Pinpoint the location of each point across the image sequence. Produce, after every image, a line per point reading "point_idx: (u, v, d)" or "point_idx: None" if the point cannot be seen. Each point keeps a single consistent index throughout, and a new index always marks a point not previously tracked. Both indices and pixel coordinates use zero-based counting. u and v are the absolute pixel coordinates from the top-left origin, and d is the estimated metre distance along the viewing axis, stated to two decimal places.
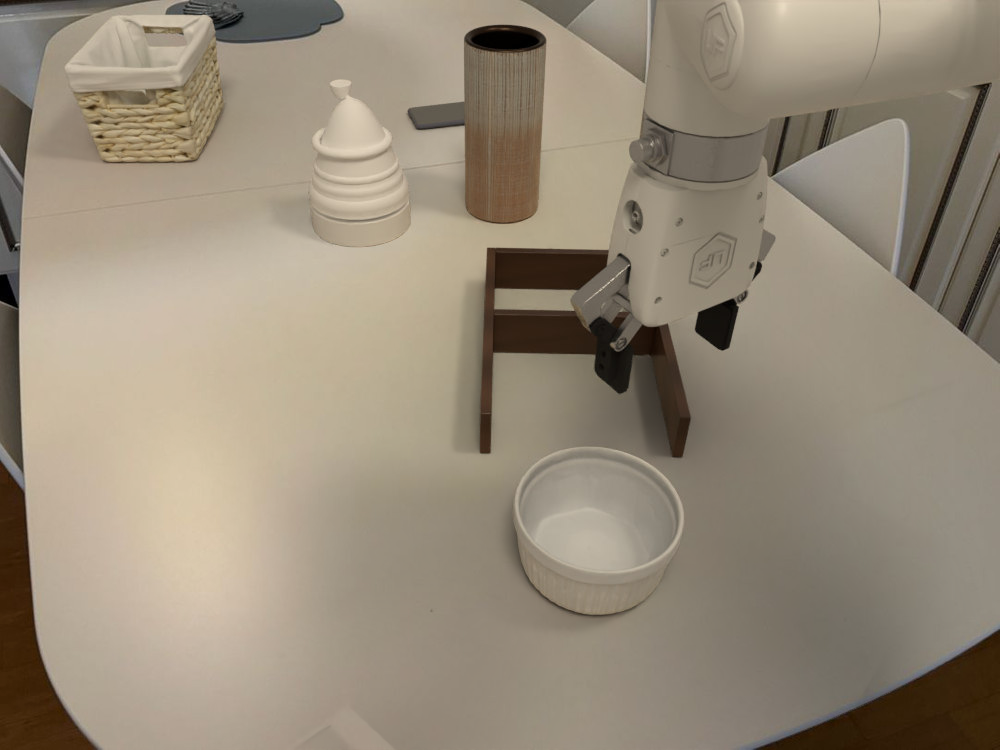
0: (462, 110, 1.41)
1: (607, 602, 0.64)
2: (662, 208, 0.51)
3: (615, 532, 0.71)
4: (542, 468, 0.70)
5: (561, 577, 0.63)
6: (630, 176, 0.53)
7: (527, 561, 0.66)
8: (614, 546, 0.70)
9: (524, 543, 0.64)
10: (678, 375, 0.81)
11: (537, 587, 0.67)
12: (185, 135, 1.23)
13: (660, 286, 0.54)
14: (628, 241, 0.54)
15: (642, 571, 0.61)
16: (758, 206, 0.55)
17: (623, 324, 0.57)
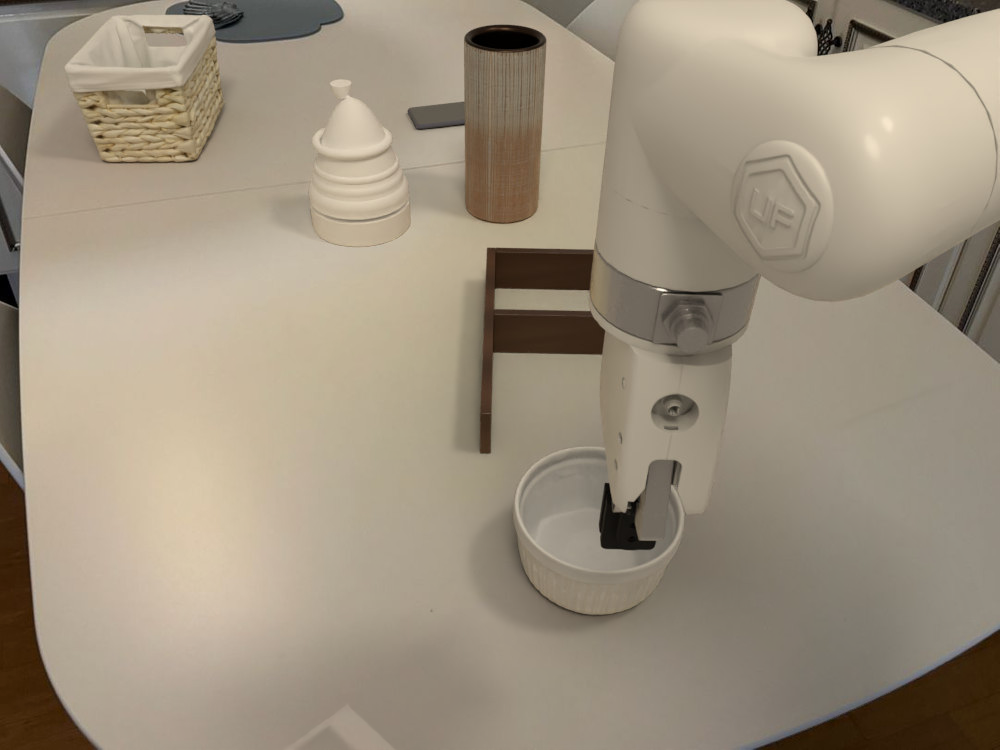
0: (462, 110, 1.41)
1: (607, 602, 0.64)
2: (724, 383, 0.38)
3: None
4: (542, 468, 0.70)
5: (561, 577, 0.63)
6: (651, 369, 0.37)
7: (527, 561, 0.66)
8: None
9: (524, 543, 0.64)
10: None
11: (537, 587, 0.67)
12: (185, 135, 1.23)
13: None
14: (672, 442, 0.39)
15: (642, 571, 0.61)
16: None
17: None
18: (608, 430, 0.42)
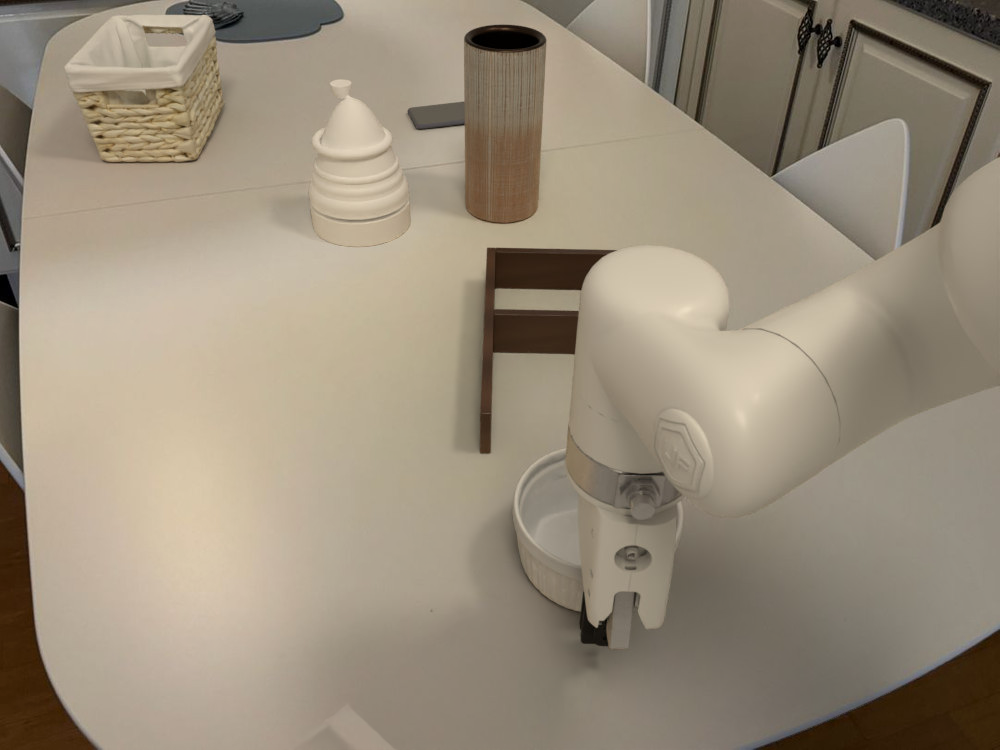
0: (462, 110, 1.41)
1: None
2: (670, 536, 0.48)
3: None
4: (542, 467, 0.70)
5: (560, 576, 0.63)
6: (613, 527, 0.48)
7: (526, 560, 0.66)
8: None
9: (524, 542, 0.64)
10: None
11: (536, 586, 0.67)
12: (185, 135, 1.23)
13: None
14: (632, 579, 0.49)
15: None
16: None
17: None
18: (583, 561, 0.53)
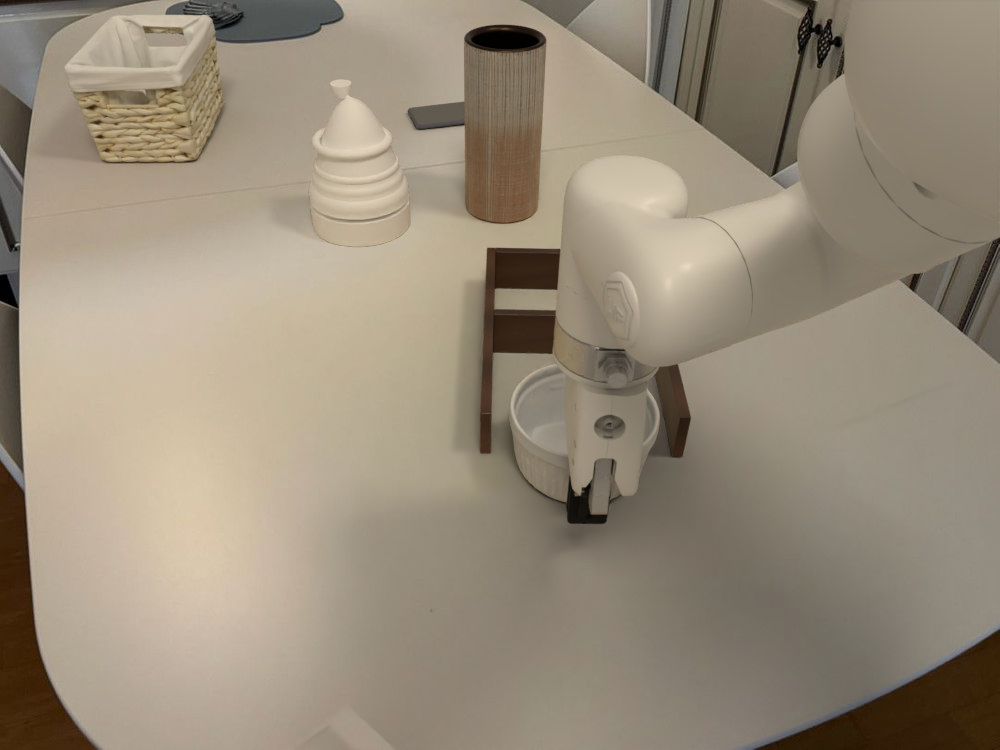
0: (462, 110, 1.41)
1: None
2: (641, 407, 0.57)
3: None
4: (536, 379, 0.79)
5: (550, 466, 0.72)
6: (593, 398, 0.56)
7: (521, 456, 0.74)
8: None
9: (518, 438, 0.73)
10: (678, 375, 0.81)
11: (530, 480, 0.75)
12: (185, 135, 1.23)
13: None
14: (609, 446, 0.58)
15: None
16: None
17: None
18: (568, 438, 0.62)
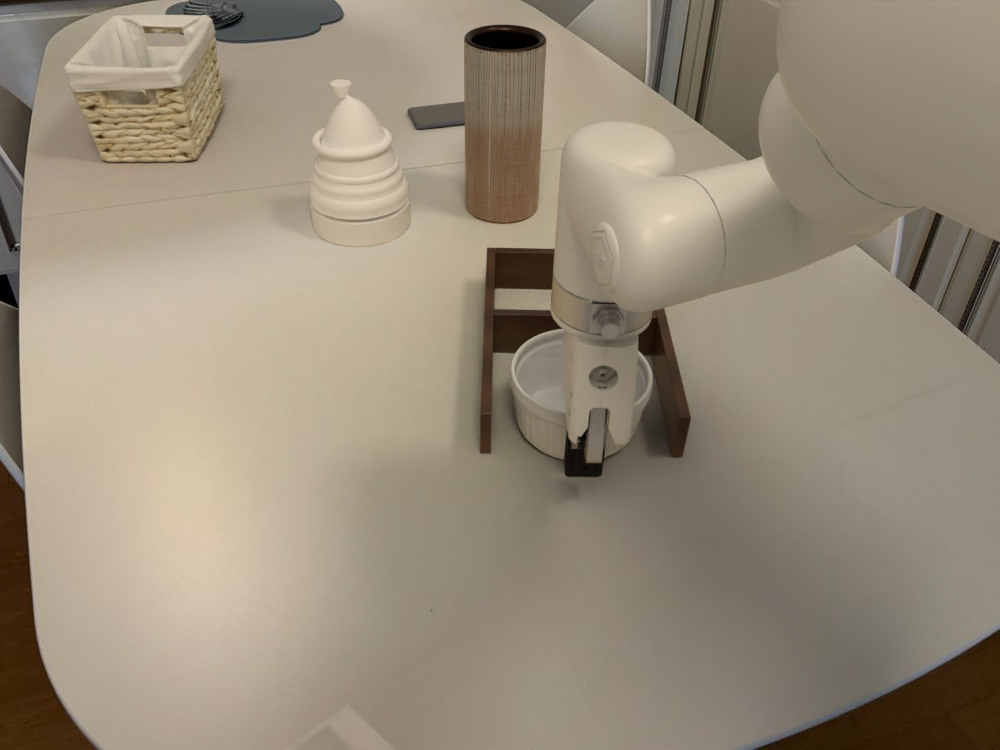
0: (462, 110, 1.41)
1: None
2: (633, 358, 0.61)
3: None
4: (535, 345, 0.83)
5: (548, 424, 0.76)
6: (587, 350, 0.60)
7: (521, 416, 0.79)
8: None
9: (519, 397, 0.77)
10: (678, 375, 0.81)
11: (529, 439, 0.80)
12: (185, 135, 1.23)
13: None
14: (603, 396, 0.62)
15: None
16: None
17: None
18: (565, 391, 0.66)
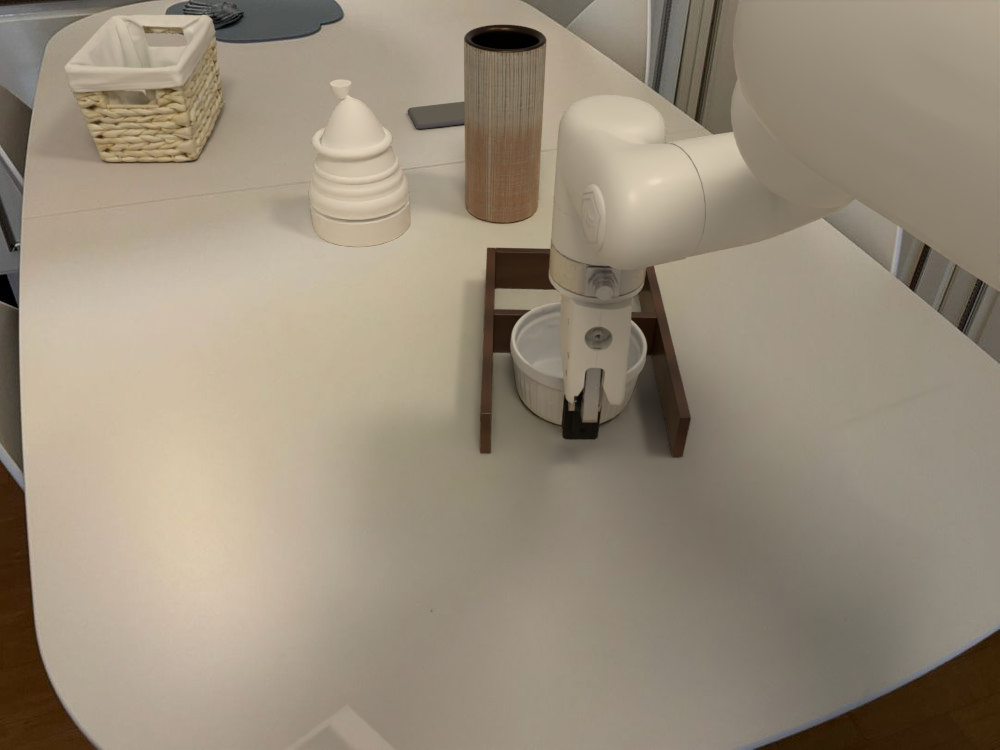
0: (462, 110, 1.41)
1: None
2: (626, 320, 0.65)
3: None
4: (535, 316, 0.86)
5: (547, 389, 0.79)
6: (583, 311, 0.64)
7: (521, 383, 0.82)
8: None
9: (519, 364, 0.80)
10: (678, 375, 0.81)
11: (529, 406, 0.83)
12: (185, 135, 1.23)
13: None
14: (598, 356, 0.66)
15: None
16: None
17: None
18: (562, 354, 0.69)
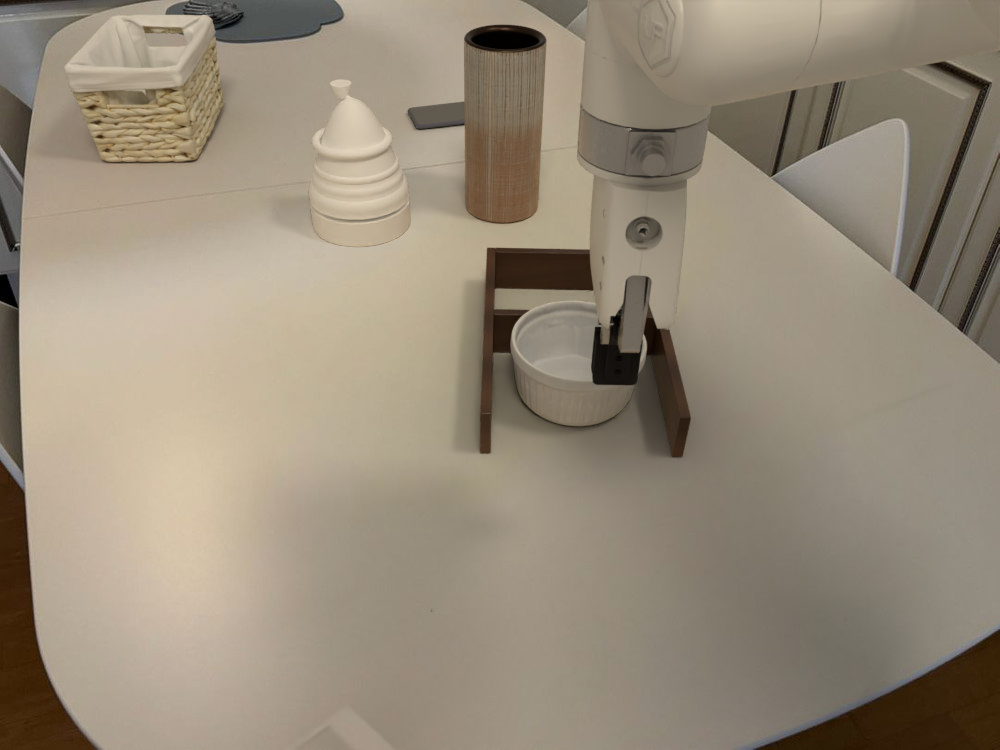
0: (462, 110, 1.41)
1: (584, 411, 0.80)
2: (680, 208, 0.49)
3: None
4: (535, 316, 0.87)
5: (547, 388, 0.79)
6: (624, 196, 0.48)
7: (521, 382, 0.82)
8: None
9: (519, 364, 0.80)
10: (678, 375, 0.81)
11: (529, 405, 0.83)
12: (185, 135, 1.23)
13: None
14: (643, 259, 0.50)
15: None
16: None
17: None
18: (594, 263, 0.54)
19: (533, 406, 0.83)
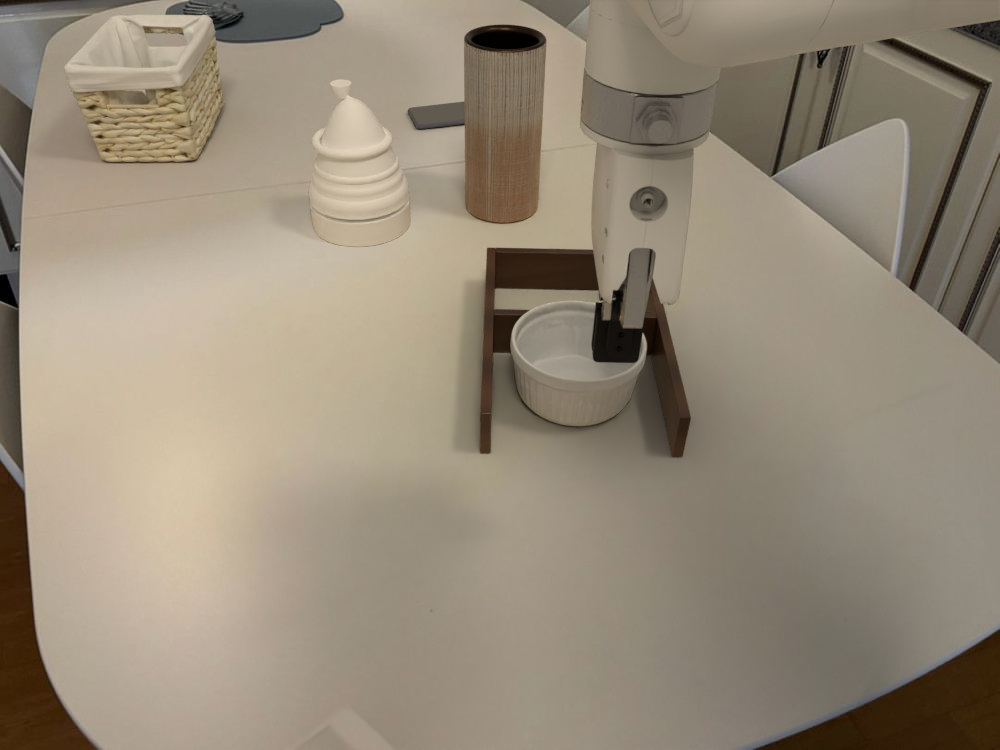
0: (462, 110, 1.41)
1: (584, 411, 0.80)
2: (687, 177, 0.47)
3: (594, 371, 0.88)
4: (535, 316, 0.87)
5: (547, 388, 0.79)
6: (629, 165, 0.47)
7: (521, 382, 0.82)
8: None
9: (519, 364, 0.80)
10: (678, 375, 0.81)
11: (529, 405, 0.83)
12: (185, 135, 1.23)
13: None
14: (647, 231, 0.49)
15: (611, 381, 0.78)
16: None
17: None
18: (597, 236, 0.52)
19: (533, 406, 0.83)
